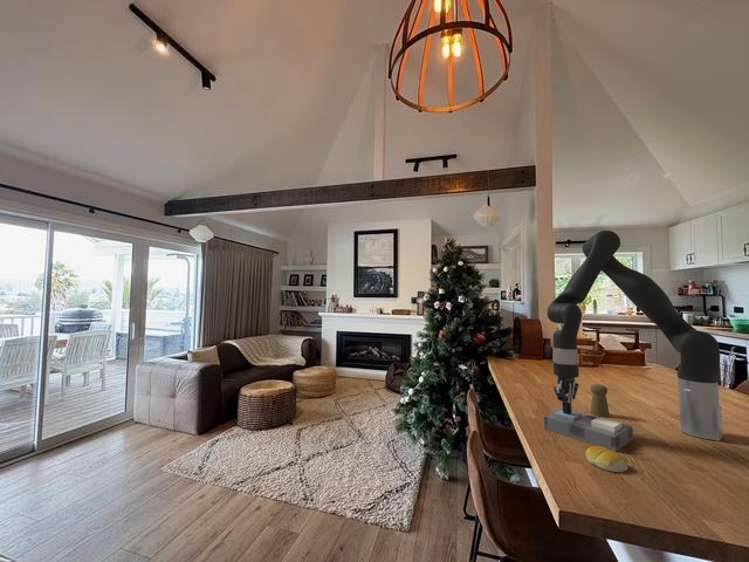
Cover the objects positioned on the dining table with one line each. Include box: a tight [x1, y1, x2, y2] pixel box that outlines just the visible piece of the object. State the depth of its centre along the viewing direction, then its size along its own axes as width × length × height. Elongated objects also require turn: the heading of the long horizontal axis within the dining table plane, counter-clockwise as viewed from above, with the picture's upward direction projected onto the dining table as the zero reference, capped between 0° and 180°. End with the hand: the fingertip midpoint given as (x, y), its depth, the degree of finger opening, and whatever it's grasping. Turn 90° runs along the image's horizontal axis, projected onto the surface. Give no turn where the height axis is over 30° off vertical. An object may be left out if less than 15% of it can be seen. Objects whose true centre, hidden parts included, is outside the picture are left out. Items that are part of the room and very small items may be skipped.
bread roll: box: [585, 445, 629, 473], centre depth 84 cm, size 8×9×4 cm
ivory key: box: [591, 416, 623, 433], centre depth 99 cm, size 6×6×2 cm
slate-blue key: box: [553, 408, 582, 421], centre depth 108 cm, size 6×6×2 cm
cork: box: [590, 383, 611, 418], centre depth 121 cm, size 6×6×11 cm
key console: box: [543, 409, 634, 452], centre depth 103 cm, size 20×14×4 cm
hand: (567, 413), depth 108 cm, fingers closed
